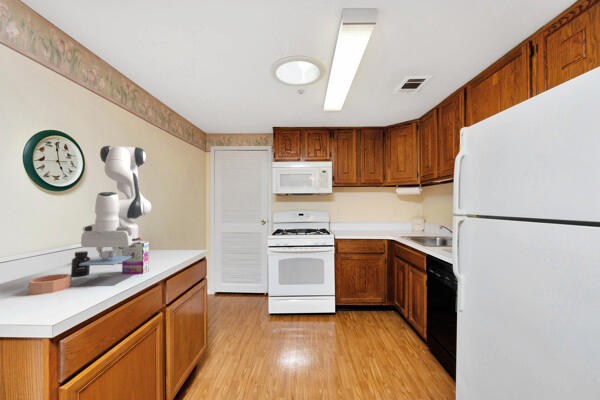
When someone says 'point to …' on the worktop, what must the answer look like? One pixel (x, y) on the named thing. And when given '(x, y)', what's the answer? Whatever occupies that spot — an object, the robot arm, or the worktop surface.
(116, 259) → the cover sheet
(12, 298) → the worktop surface
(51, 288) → the bowl
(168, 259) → the worktop surface
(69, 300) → the worktop surface
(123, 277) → the mat
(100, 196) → the robot arm
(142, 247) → the candy bar box
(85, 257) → the supplement bottle
